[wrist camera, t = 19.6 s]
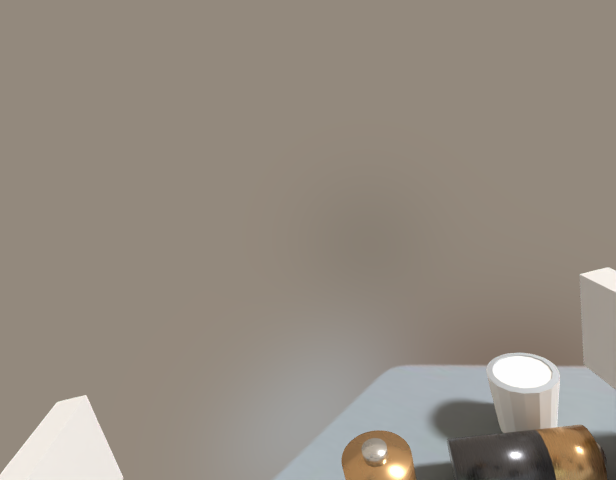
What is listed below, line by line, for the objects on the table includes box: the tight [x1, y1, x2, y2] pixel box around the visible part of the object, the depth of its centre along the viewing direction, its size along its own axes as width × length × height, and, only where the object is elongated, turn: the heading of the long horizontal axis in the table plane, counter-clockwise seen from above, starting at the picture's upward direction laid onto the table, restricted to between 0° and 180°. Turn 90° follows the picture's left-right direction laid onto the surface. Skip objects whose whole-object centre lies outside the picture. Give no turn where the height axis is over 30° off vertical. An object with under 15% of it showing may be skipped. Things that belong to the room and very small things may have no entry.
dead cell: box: [447, 425, 607, 480], centre depth 38 cm, size 13×5×5 cm, turn 84°
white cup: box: [486, 353, 560, 433], centre depth 44 cm, size 7×7×7 cm
